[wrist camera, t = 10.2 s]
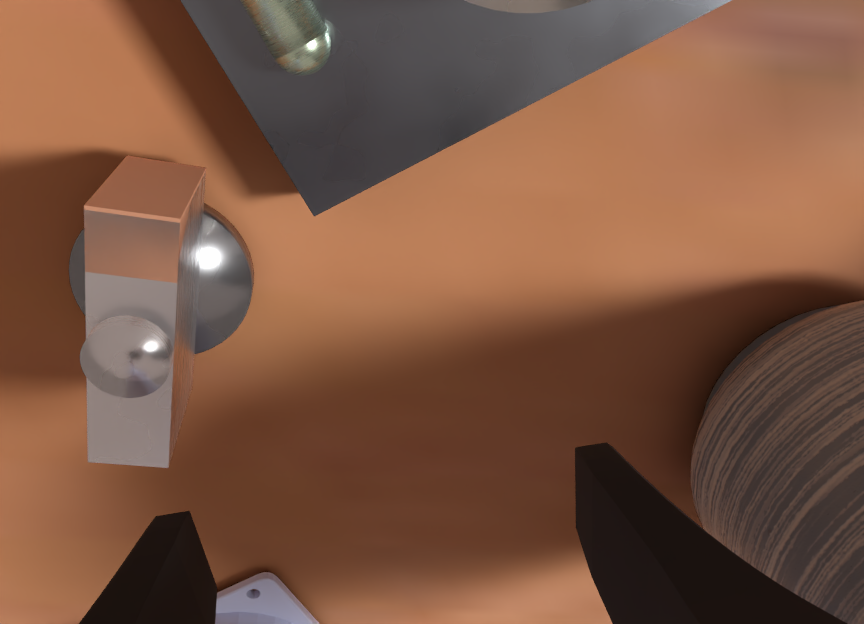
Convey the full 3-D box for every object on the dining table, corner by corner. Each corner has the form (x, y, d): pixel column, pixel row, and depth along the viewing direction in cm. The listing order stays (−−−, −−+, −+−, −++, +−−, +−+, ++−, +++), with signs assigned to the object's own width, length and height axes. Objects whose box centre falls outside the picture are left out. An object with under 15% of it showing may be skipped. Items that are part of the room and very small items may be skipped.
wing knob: (243, 379, 23) (224, 484, 19) (78, 363, 22) (17, 470, 18) (265, 168, 20) (247, 236, 16) (74, 138, 19) (-1, 202, 15)
